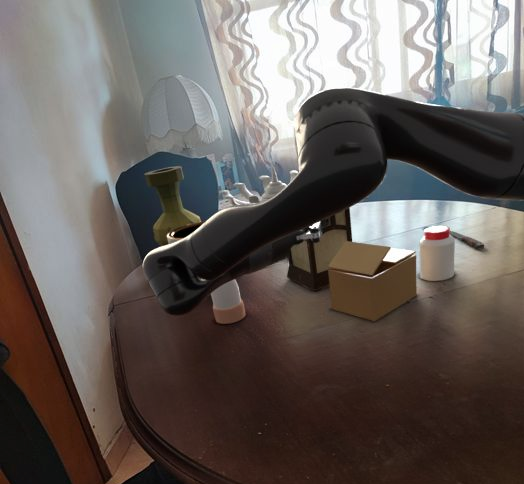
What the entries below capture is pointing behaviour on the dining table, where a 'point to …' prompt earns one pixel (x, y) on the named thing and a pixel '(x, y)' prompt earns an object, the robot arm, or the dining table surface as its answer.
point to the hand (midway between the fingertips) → (326, 218)
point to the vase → (169, 202)
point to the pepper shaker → (228, 303)
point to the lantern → (319, 253)
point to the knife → (466, 239)
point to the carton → (375, 286)
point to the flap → (359, 257)
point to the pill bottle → (436, 254)
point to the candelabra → (269, 186)
